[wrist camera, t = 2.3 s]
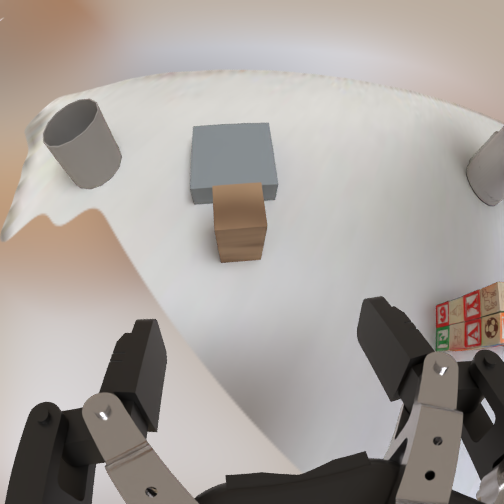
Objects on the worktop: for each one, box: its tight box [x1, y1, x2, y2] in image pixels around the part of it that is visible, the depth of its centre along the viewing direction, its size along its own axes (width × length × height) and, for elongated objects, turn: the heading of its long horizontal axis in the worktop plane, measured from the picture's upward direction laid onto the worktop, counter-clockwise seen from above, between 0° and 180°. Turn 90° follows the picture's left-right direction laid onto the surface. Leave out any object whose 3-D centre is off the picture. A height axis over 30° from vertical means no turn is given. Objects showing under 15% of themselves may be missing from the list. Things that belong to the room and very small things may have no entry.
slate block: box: [190, 123, 278, 204], centre depth 36 cm, size 10×10×4 cm
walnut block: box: [212, 182, 267, 263], centre depth 30 cm, size 4×4×9 cm
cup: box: [43, 99, 122, 189], centre depth 33 cm, size 8×8×10 cm
